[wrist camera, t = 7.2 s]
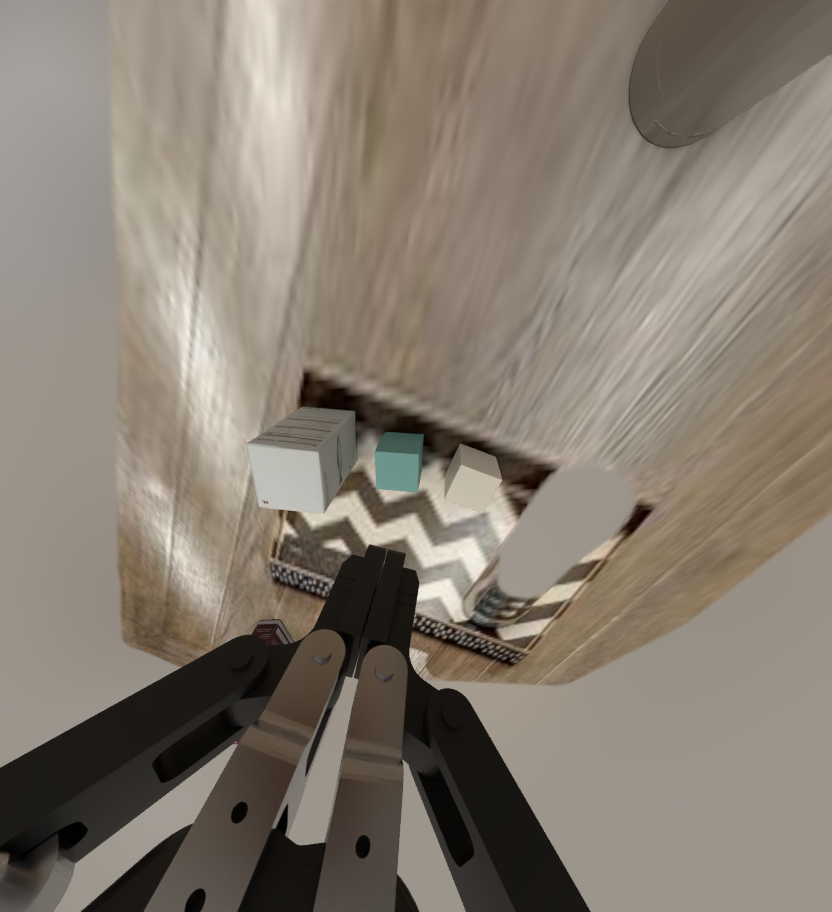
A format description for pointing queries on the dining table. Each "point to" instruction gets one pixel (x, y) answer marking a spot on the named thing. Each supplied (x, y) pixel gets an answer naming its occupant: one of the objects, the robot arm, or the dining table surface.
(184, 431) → the dining table surface
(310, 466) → the supplement box
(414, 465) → the teal block
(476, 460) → the cream block
